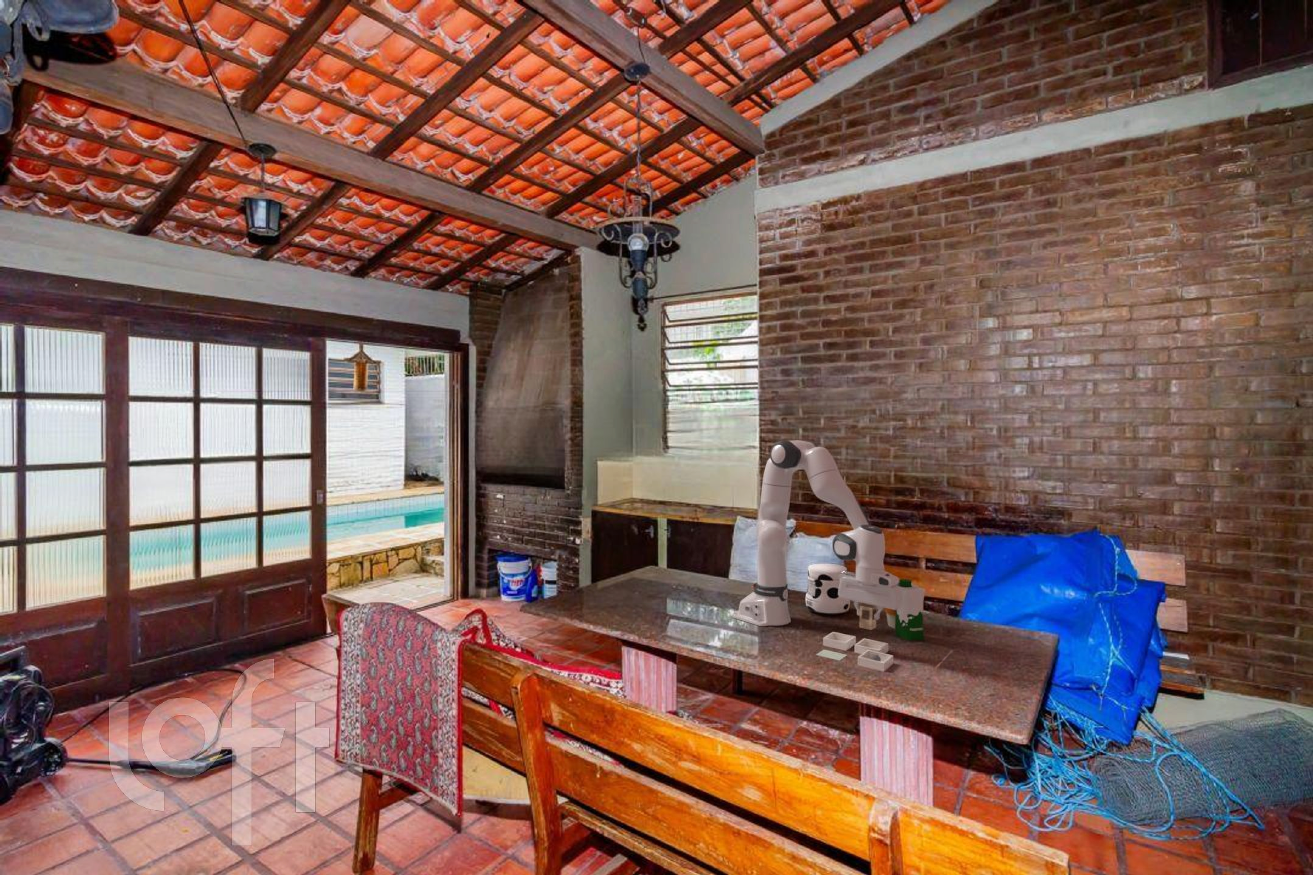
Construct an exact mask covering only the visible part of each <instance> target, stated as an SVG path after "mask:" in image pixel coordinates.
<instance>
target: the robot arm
mask: <svg viewBox="0 0 1313 875" xmlns="http://www.w3.org/2000/svg"><path fill="white" fill-rule="evenodd" d="M769 457H770V458H768V459H767V460H766V465H765V468H764V472H763V476H762V484H761V485H762V486H761V493H760V505H759V511H758V517H757V526H756V535H757V536H756V537H757V560H756V561H757V563H756V564H757V574H756V575H757V582H755V583H754V584H752V585H751V589H753V591H752V592H751V593H750V594H748V595H747V596H745V597H744V598H742V599H741V600H740V602H739V607H738V610H737V611H735V612H734V613H732V618H734V619H736V620H740V621H743V622H746V623H749V624H752V625H755V626H759V627H766V626H768V627H769V626H784V625H788V624H789V623H791V622H792V620H791V617H790V616H791V615H790V612H789V607H788V605H789V604H788V593H789V592H788V589H789V588H788V584H787V558H788V554H787V553H788V532H787V530H786V529H787V521H788V516H789V515H788V514H789V509H790V501H791V493H792V492H791V491H792V483H793V482H792V481H793V475H794V473H796V472H797V471H799V472H804V471H805V474H806V476H807V479H808V482H809V486H810V488H811V490H812V492H813V494H814V495H815V496H816V498H818V499H819V500H821V501H824V502H826V503H829V504H831V505H834V506H836V507H838V509H841V510H842V511H843V512H844V514H845V515H846V517H847V520H848V521H849V523H850V525H851V527H852V529H853V530H852V529H851V530H847V531H843V532H840V533H837V534H836V535H834V538H833V540H832V551H833V553H834V555H835V556H836V558H838V559H839V560H843V561H855V572H854V571H849V570H847V571H844V572H841V573H840V575H839V581H840V584H839V589H838V595H839V597H840V598H842V599H847V600H850V601H852V602H853V606H854V607H855V610H856V615H857V616H860V606H861V605H860V604H869V605H873V606H877V610H876V613H874V614H873V616H874V617H873V619H876V621H877V620H879V619H880V616H881V613H882V612H883V610H884V609H885V608H889V609H893V610H896V609H898V608H900V607H901V590H900V588H899V586H898V585H897V584H898V583H899V580H900V578H899V577H898V576H896V575H894V574H893V573H890V572H888V571H886V570H885V565H884V559H885V554H886V538H885V535H884V531H883V529H882V528H880V527H878V526H876V525H872V524H871V522H870V520H869V518H868V516H867V514H866V512H865V511H864V509H863V507H862V505H861V503H860V501H859V500H858V497H857V496H856V495H855V493H854V492H853V491H852V489H851V488H850V487H848V485H847V484H846V482H845V481H844V479H843V476H842V475H841V472H840V471H839V468H838V466H837V463H836V462H835V459H834V457H833V456H832V454H831V453H830V451H829V450H828V449H827V448H826V447H823V446H819V445H818V444H816V443H814V442H812V441H806V440H801V439H796V440H787V439H784V440H783V439H782V440H778V441H776V442H775V443H773V445H771V448H770V453H769ZM843 573H844V574H843Z"/></svg>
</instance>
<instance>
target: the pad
mask: <svg viewBox="0 0 1313 875" xmlns="http://www.w3.org/2000/svg"><path fill="white" fill-rule="evenodd" d="M815 655H816V656H818V657H823V658H827V659H831V660H835V661H842V660H843V659H844V658H846V657H848V654H844V653H840V652H837V651H832V650H827V649H822V650H821V651H819V652H818V653H816V654H815Z"/></svg>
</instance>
